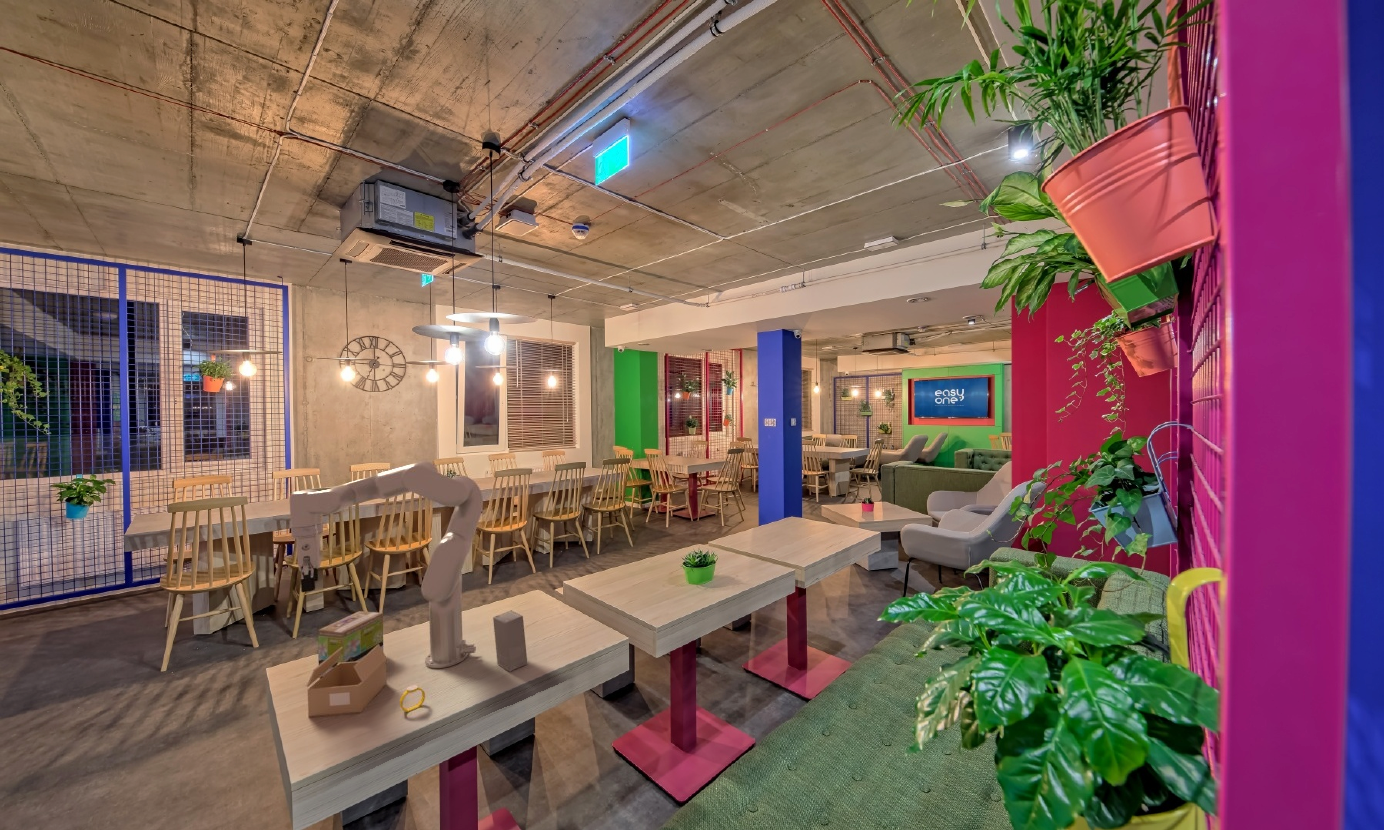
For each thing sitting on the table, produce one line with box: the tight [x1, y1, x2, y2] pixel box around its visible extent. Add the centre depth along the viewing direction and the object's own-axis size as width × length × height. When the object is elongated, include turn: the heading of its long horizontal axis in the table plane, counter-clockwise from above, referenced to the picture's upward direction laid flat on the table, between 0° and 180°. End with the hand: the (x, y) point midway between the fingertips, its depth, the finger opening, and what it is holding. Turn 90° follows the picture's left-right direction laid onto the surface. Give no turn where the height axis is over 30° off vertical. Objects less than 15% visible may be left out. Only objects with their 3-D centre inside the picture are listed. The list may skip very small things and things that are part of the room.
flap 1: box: [306, 647, 343, 688], centre depth 139 cm, size 5×12×1 cm
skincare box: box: [492, 610, 528, 672], centre depth 157 cm, size 8×7×16 cm
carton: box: [307, 659, 387, 718], centre depth 139 cm, size 13×14×8 cm
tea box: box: [317, 610, 384, 678], centre depth 158 cm, size 15×10×15 cm, turn 168°
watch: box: [399, 684, 426, 713], centre depth 135 cm, size 6×3×6 cm, turn 136°
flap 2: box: [354, 644, 388, 683], centre depth 140 cm, size 5×12×1 cm
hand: (310, 586), depth 151 cm, fingers open, 9 cm apart
